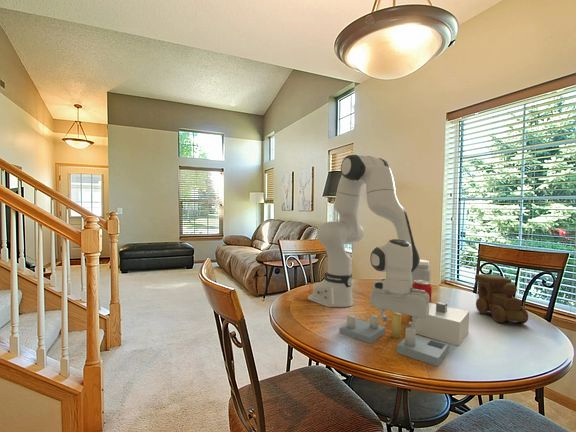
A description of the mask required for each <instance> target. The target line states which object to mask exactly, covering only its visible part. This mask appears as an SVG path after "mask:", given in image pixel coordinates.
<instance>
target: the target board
mask: <svg viewBox="0 0 576 432" xmlns="http://www.w3.org/2000/svg"><path fill="white" fill-rule="evenodd" d="M404 337H405V338H403V339H402V340H401V341H399V343H397V344H396V353H397V354H400V355H403V356H405V357H409V358H412V359H415V360H417V361H422V362H424V363H425V364H429V365H432V366H435V367H439V366H440V365H441V363H442V362H443V361H444V359H445V358H446V357H447V356H448V354H449V352H450V350H449V348H450V343H447V342H443V341H440V340H436V339H433V338H429V337H426V336H422V335H419V334H416V329H414V328H412V327H408V326H407V327H405V336H404Z"/></svg>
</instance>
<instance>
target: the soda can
mask: <svg viewBox="0 0 576 432" xmlns="http://www.w3.org/2000/svg"><path fill="white" fill-rule="evenodd" d="M412 288H414V289H418V290H424V291H425V292H427V293H428V294H429V297H430V300H429V303H432V299H433V298H432V297H433V286H432V284H431V281H430V282H428V281H424V280H414V282H413V284H412ZM425 294H426V293H425Z"/></svg>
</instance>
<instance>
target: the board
mask: <svg viewBox="0 0 576 432" xmlns="http://www.w3.org/2000/svg"><path fill="white" fill-rule="evenodd" d="M346 319H347V320H346V323H345V324H344V325H341V326H340V327H339V331H338V332H339V334H341V335H345V336H347V337H350V338H353V339H356V340H359V341H362V342H364V343H367V344H371V343H374V342H375V341H376V340H377V339H379V338H380V337H381V336H383V335H384V334H386V327H385V326H381V325H379V319H380V318H379V316H378V315H376V314H370V315H369V321H365V320H361V319H357V318H356V316H355V315H354V314H348V315H347V316H346Z"/></svg>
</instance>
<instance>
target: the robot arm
mask: <svg viewBox="0 0 576 432" xmlns="http://www.w3.org/2000/svg"><path fill="white" fill-rule="evenodd" d="M340 173H341V176H340V178H339V181H338V185H337V188H336V189H337V190H336V194H335V199H334V204H333V208H334V211H336V212H337V213H338V217H339V218H338V221H326V222H323V223H321V224H319V225H318V227H317V229H316V238H317V240H318V241H319V243H321V245H322V246H323V247H324V248H325V251H326V252H325V253H326V256H327V272H325V273H323V274H322V276H323V277H324V278H323V280H322V281H319V283H317V284H315V285H314V286H313V289H312V294H309V295H308V296H307V300H309V301H311V302H314V303H316V304H319V305H322V306H324V307H327V308H334V307H335V308H347V307H351V306H353V305H354V304H355V303H354V299H353V292H352V283H353V273H352V257H351V255H350V254H349V253H347V252H346V249H345V245H351V244H355V243H357V242H360V241H361V240H362V239H363V237H364V227H363V226H362V225H361V223H360V221H359V216H358V215H359V214H358V213H359V205H360V201H361V200H360V199H361V196H362V191H363V190H362V189H363V186H364V184H365V187H366V202H367V205H368V206H367V207H368V208H369V210H370V211H371V212H372V213H373V214H374V215H377V216H378V217H380V218H384V219H386V220H388V221H389V222H391V223H392V224H393V225H394V227H395V231H396V235H397V238H396V239H393V238H392V239H390V240H388V241H387V243H386V244H384V245H381V246H378V247H377V246H376V247H375V248H374V249H373V250H372V251H371V253H370V264H371V266H372V268H373V269H374V270H375V271H377V272H381V273H382V272H383V273H385V278H382V279H379V280H375V281H373V282H372V283H371V285H372V286H371V287H372V289H371V291H370V294H369V304H370V306H371V307H372V308H377V309H378V311H379V314H380V316H381V322H385V323H386V322H388V318H389V316H388V315H386V313H385V311H389V312H392V313H400V314H401V315H406V316H411V320H412V321H409V322H408V324H407V325H408V326H407V327H412V328H414V323H415V322H416V320H417V319H418V318H422V319H425V318H427V317H428V316H429V304H428V303H429V300H430V297H429V294H428V293H427V292H425V291H424V290H418V289H414V288H412V275H411V272H413V271H414V270H415V269H416V268H417V267H418V265H419V262H420V259H421V258H420V254H419V252H418V249H417V248H416V244H415V241H414V238H413V233H412V229H411V225H410V221H409V217H408V214H407V211H406V209H405V207H403V206H402V204H400V202H399V199H398V197H397V194H396V193H397V192H396V191H397V189H396V184H395V180H394V176H393V172H392V169H391V166H390V163H389V162H388V161H386V159H383V158H381V157H380V158H379V157H375V156H370V155H357V154H348V155H346V156H345V157H344V158H343V160H342V162H341V164H340ZM425 293H426V294H425Z"/></svg>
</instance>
